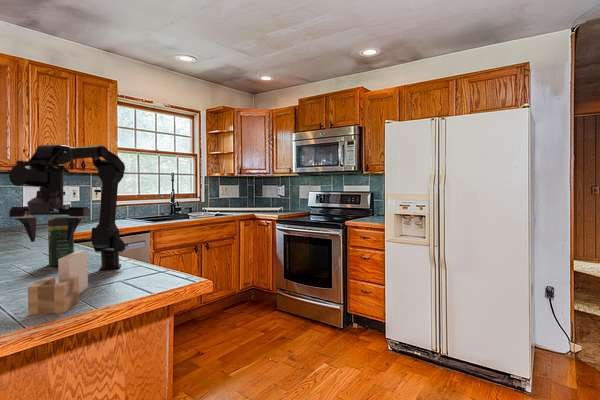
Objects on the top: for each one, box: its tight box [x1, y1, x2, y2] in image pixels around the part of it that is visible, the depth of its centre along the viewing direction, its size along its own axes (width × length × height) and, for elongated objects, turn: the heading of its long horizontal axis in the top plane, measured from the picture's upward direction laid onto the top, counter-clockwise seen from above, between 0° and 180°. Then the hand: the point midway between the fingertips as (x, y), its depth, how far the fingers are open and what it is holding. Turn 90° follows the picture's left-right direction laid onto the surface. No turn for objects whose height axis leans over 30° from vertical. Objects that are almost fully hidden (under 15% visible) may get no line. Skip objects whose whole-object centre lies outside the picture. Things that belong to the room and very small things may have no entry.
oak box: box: [27, 276, 80, 316], centre depth 85 cm, size 8×7×6 cm
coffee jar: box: [47, 215, 75, 267], centre depth 131 cm, size 10×8×19 cm
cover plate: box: [57, 249, 89, 294], centre depth 95 cm, size 12×2×11 cm, turn 12°
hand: (51, 241), depth 100 cm, fingers open, 9 cm apart
